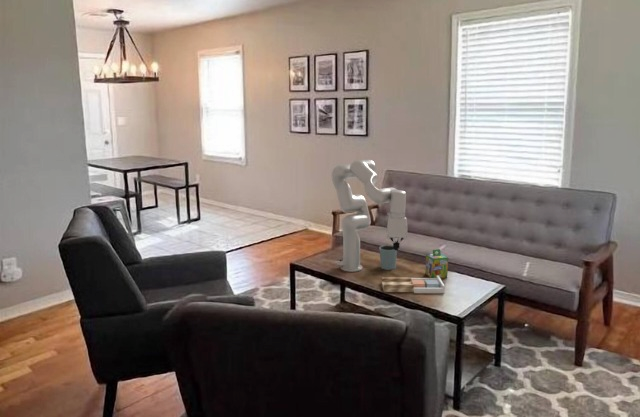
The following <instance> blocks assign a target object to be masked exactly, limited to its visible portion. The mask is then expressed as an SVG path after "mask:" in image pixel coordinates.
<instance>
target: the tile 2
mask: <svg viewBox="0 0 640 417" xmlns="http://www.w3.org/2000/svg"><path fill="white" fill-rule="evenodd" d="M425 288H439V283H438V281H437V280H425Z"/></svg>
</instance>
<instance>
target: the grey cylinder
mask: <svg viewBox="0 0 640 417" xmlns="http://www.w3.org/2000/svg"><path fill="white" fill-rule="evenodd" d="M397 253H398V251H397V250H396V251H395V250H394V248H393V245H390V244H389V245H388V244H387V245H380V246H379V261H380V268H381V269H383V270H386V271H391V270H395V269H396V268H397V256H398V255H397Z"/></svg>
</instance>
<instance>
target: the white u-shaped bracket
mask: <svg viewBox="0 0 640 417" xmlns="http://www.w3.org/2000/svg"><path fill="white" fill-rule="evenodd" d="M410 278H411V280H423V281H424V283H425V280H437V281H438V283H439V288H426V287H425V288H414V292H413V293H414V294H445V288H446V286H445V284H444V282H443V281H442V278H440V277H439V275H437V278H431V277H410Z"/></svg>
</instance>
